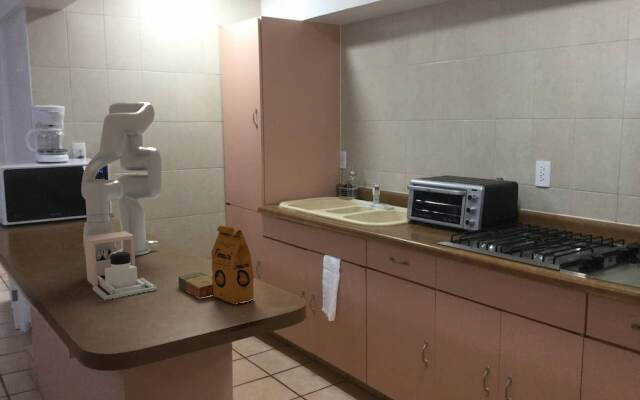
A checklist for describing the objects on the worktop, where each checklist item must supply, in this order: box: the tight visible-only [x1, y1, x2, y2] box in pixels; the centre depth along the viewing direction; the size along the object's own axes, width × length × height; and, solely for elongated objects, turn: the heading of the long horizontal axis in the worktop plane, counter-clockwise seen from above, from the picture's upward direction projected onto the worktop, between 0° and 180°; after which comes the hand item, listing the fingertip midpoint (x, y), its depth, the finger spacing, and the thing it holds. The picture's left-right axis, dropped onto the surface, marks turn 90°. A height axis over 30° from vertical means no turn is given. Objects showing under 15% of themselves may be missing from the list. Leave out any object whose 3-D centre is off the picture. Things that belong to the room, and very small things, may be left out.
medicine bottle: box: [104, 250, 139, 289], centre depth 180 cm, size 7×7×12 cm
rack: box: [96, 258, 146, 295], centre depth 186 cm, size 10×26×5 cm, turn 36°
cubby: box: [83, 231, 136, 287], centre depth 189 cm, size 14×9×15 cm, turn 126°
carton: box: [177, 271, 213, 298], centre depth 177 cm, size 8×16×4 cm, turn 37°
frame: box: [92, 277, 158, 301], centre depth 179 cm, size 16×13×1 cm
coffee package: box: [210, 225, 255, 305], centre depth 167 cm, size 10×12×22 cm
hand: (102, 269), depth 200 cm, fingers closed
